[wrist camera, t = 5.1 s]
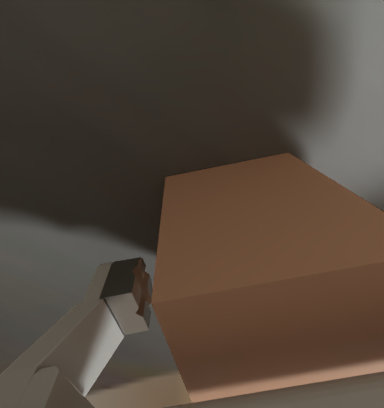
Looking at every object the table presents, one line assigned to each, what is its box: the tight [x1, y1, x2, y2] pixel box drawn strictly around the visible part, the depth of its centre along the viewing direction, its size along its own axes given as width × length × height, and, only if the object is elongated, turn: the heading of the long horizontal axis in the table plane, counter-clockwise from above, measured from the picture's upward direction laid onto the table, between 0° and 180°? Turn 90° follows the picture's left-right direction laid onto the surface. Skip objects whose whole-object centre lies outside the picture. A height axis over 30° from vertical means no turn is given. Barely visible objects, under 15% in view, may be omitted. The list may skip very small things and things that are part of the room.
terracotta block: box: [151, 153, 384, 403], centre depth 8 cm, size 5×5×6 cm
